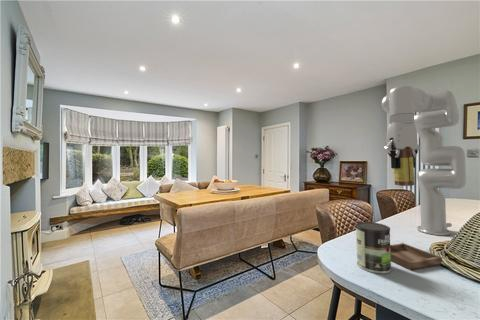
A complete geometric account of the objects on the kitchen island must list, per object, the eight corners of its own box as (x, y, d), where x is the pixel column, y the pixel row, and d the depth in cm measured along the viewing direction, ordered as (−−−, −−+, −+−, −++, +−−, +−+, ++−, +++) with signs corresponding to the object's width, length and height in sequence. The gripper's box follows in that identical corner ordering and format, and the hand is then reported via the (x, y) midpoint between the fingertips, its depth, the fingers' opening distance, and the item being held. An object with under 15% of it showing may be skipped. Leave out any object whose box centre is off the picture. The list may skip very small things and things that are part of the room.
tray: (403, 249, 89) (403, 243, 89) (442, 264, 76) (442, 257, 76) (375, 253, 86) (375, 247, 86) (410, 270, 72) (410, 263, 72)
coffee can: (397, 268, 74) (396, 227, 74) (380, 277, 69) (378, 232, 69) (368, 257, 83) (366, 220, 83) (350, 263, 78) (349, 224, 78)
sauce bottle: (407, 184, 84) (406, 133, 84) (419, 186, 78) (417, 130, 78) (389, 184, 85) (388, 133, 85) (399, 186, 79) (398, 131, 79)
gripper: (409, 122, 87) (411, 167, 87) (374, 121, 83) (375, 168, 83) (430, 118, 80) (431, 167, 80) (392, 117, 76) (393, 169, 76)
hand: (403, 167), depth 81 cm, fingers closed on sauce bottle, 6 cm apart
